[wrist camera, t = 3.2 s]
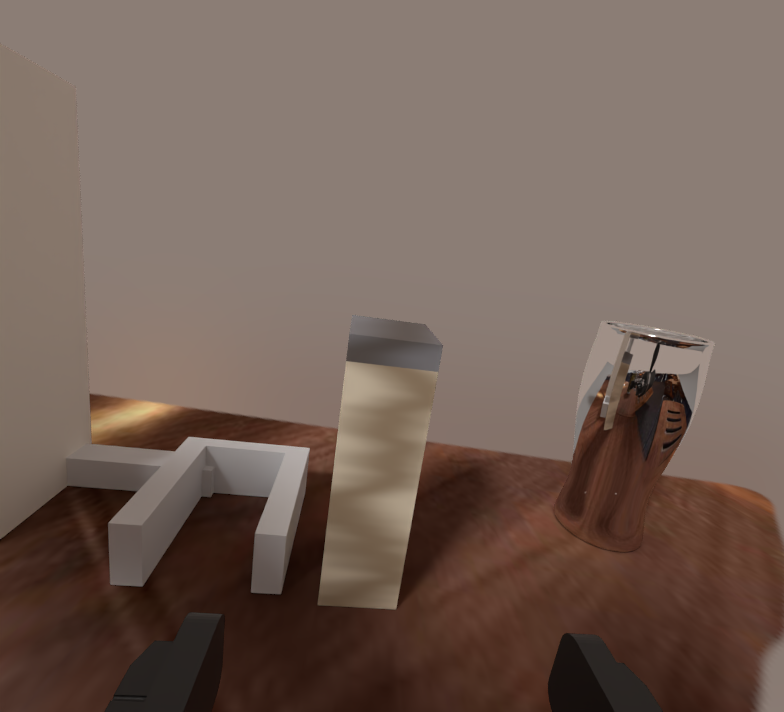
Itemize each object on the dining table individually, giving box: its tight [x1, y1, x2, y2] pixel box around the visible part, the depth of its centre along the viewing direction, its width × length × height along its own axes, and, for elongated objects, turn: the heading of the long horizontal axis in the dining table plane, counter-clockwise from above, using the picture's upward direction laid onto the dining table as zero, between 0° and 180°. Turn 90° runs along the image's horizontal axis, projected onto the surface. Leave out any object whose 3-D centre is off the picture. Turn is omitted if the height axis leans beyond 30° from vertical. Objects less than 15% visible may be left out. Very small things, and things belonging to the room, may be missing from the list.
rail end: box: [318, 315, 443, 609], centre depth 21 cm, size 4×5×14 cm
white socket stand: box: [0, 43, 310, 594], centre depth 21 cm, size 21×10×24 cm, turn 94°
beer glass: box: [554, 321, 715, 552], centre depth 29 cm, size 7×7×15 cm
